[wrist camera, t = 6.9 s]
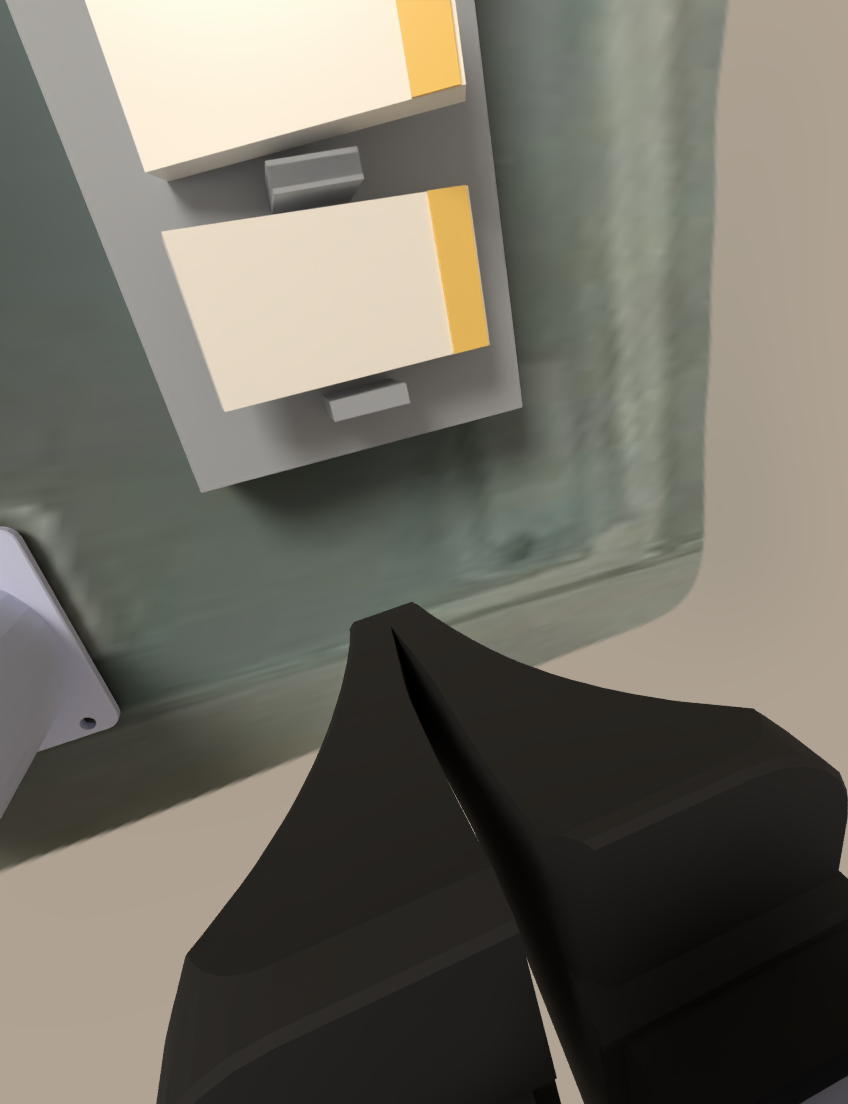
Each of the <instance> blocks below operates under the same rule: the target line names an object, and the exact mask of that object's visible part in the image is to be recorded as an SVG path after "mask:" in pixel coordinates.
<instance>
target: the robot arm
mask: <svg viewBox="0 0 848 1104" xmlns="http://www.w3.org/2000/svg"><path fill="white" fill-rule="evenodd" d="M119 716H120V709H119V707H118V705H117V703H116V701H115V700H114V698H113V696H112V694H111V693H110V691H109V689H108V687H107V686H106V684H105V682H104V680H103V679H102V677H101V675H100V673H99V672H98V670H97V668H96V666H95V664H94V663H93V661H92V659H91V657H90V656H89V654H88V652H87V650H86V649H85V647H84V645H83V643H82V642H81V640H80V638H79V636H78V635H77V633H76V631H75V629H74V628H73V626H72V624H71V622H70V621H69V619H68V617H67V615H66V614H65V612H64V610H63V608H62V607H61V605H60V603H59V601H58V599H57V598H56V596H55V594H54V592H53V591H52V589H51V587H50V585H49V584H48V582H47V580H46V578H45V577H44V575H43V573H42V571H41V570H40V568H39V566H38V564H37V563H36V561H35V559H34V557H33V556H32V554H31V552H30V550H29V549H28V547H27V545H26V543H25V541H24V540H23V538H22V536H21V535H20V534H19V533H18V532H17V531H15V530H13V529H12V528H9V527H4V526H2V527H0V819H1V817H2V816H3V814H4V812H5V810H6V808H7V806H8V805H9V803H10V801H11V799H12V797H13V796H14V794H15V792H16V790H17V788H18V786H19V785H20V783H21V781H22V779H23V777H24V775H25V774H26V772H27V770H28V768H29V766H30V764H31V763H32V761H33V759H34V757H35V755H36V754H37V752H39V751H42V750H45V749H48V748H51V747H54V746H57V745H60V744H63V743H66V742H69V741H72V740H75V739H78V738H81V737H84V736H87V735H90V734H93V733H96V732H99V731H102V730H105V729H108V728H111V727H112V726H114V725H115V724H116V723H117V722H118V719H119ZM88 717H89V718H93V719H94V720H95V721H96V722H91V723H90V722H86V721H85V720H84V719H83V718H88ZM450 786H451V787H450ZM451 788H452V789H451ZM452 790H453V791H454V793H455V795H456V797H457V799H458V801H459V803H460V805H461V807H462V808H461V807H460V805H459V803H458V801H457V799H456V797H455V795H454V793H453V791H452ZM462 809H463V810H464V812H463V810H462ZM847 810H848V797H847V789H846V787H845V785H844V782H843V780H842V777H841V775H840V773H839V772H838V771H837V770H836V769H835V768H833V767H832V766H831V765H830V764H828V763H827V762H826V761H825V760H823V759H822V758H821V757H820V756H818V755H817V754H816V753H814V752H813V751H812V750H811V749H809V748H808V747H807V746H805V745H804V744H803V743H801V742H800V741H799V740H798V739H796V738H795V737H794V736H792V735H791V734H790V733H789V732H787V731H786V730H784V729H783V728H781V727H780V726H778V725H777V724H775V723H774V722H772V721H771V720H770V719H768V718H767V717H765V716H764V715H762V714H761V713H759V712H757V711H756V710H754V709H752V708H742V707H731V706H720V705H710V704H700V703H690V702H680V701H672V700H666V699H660V698H654V697H647V696H641V695H635V694H630V693H625V692H620V691H615V690H610V689H605V688H601V687H597V686H594V685H590V684H586V683H582V682H578V681H574V680H570V679H567V678H564V677H560V676H557V675H554V674H550V673H548V672H545V671H542V670H539V669H537V668H534V667H531V666H528V665H525V664H523V663H520V662H517V661H515V660H513V659H510V658H508V657H506V656H504V655H501V654H499V653H497V652H495V651H493V650H491V649H489V648H487V647H485V646H483V645H481V644H479V643H477V642H476V641H474V640H472V639H470V638H468V637H467V636H465V635H463V634H461V633H460V632H458V631H456V630H455V629H453V628H451V627H450V626H448V625H446V624H445V623H443V622H442V621H440V620H439V619H437V618H436V617H434V616H433V615H431V614H430V613H428V612H427V611H425V610H424V609H423V608H421V607H420V606H419V605H417V604H415V603H413V602H410V603H407V604H404V605H402V606H399V607H396V608H393V609H390V610H387V611H384V612H382V613H379V614H376V615H373V616H370V617H367V618H364V619H362V620H359V621H356V622H354V623H353V624H352V626H351V628H350V646H349V653H348V660H347V665H346V669H345V674H344V678H343V683H342V687H341V691H340V694H339V697H338V701H337V704H336V707H335V710H334V713H333V717H332V720H331V723H330V725H329V728H328V731H327V733H326V736H325V739H324V741H323V743H322V746H321V748H320V750H319V753H318V755H317V757H316V760H315V762H314V764H313V766H312V768H311V771H310V772H309V774H308V776H307V778H306V780H305V782H304V784H303V786H302V788H301V790H300V792H299V794H298V796H297V798H296V800H295V802H294V804H293V805H292V807H291V809H290V811H289V812H288V814H287V816H286V817H285V819H284V821H283V822H282V824H281V826H280V827H279V829H278V830H277V832H276V834H275V835H274V837H273V838H272V840H271V841H270V843H269V844H268V846H267V848H266V849H265V851H264V852H263V854H262V855H261V857H260V859H259V860H258V862H257V863H256V865H255V866H254V868H253V869H252V871H251V872H250V873H249V875H248V876H247V877H246V879H245V880H244V882H243V883H242V884H241V886H240V887H239V889H238V890H237V891H236V892H235V893H234V895H233V896H232V897H231V899H230V900H229V901H228V902H227V904H226V905H225V906H224V908H223V909H222V910H221V912H220V913H219V914H218V916H217V917H216V918H215V920H214V921H213V922H212V923H211V925H210V926H209V927H208V928H207V930H206V931H205V932H204V933H203V935H202V936H201V937H200V939H199V940H198V941H197V942H196V943H195V945H194V946H193V947H192V948H191V949H190V951H189V952H188V953H187V955H186V957H185V961H184V965H183V969H182V973H181V977H180V982H179V985H178V990H177V994H176V998H175V1001H174V1005H173V1009H172V1013H171V1018H170V1022H169V1026H168V1031H167V1035H166V1040H165V1046H164V1053H163V1060H162V1068H161V1074H160V1082H159V1089H158V1096H157V1104H561V1102H560V1098H559V1094H558V1090H557V1086H556V1082H555V1079H556V1078H557V1077H556V1073H555V1069H554V1065H553V1061H552V1057H551V1053H550V1049H549V1046H548V1041H547V1037H546V1033H545V1030H544V1026H543V1022H542V1018H541V1014H540V1010H539V1006H538V1002H537V998H536V994H535V990H534V986H533V982H532V979H531V974H530V970H529V966H528V962H529V965H530V968H531V970H532V973H533V975H534V978H535V980H536V983H537V985H538V987H539V990H540V993H541V995H542V998H543V1000H544V1002H545V1005H546V1007H547V1010H548V1013H549V1015H550V1018H551V1020H552V1023H553V1025H554V1028H555V1030H556V1033H557V1035H558V1038H559V1040H560V1043H561V1046H562V1048H563V1051H564V1053H565V1056H566V1058H567V1061H568V1063H569V1066H570V1068H571V1071H572V1074H573V1076H574V1079H575V1081H576V1084H577V1086H578V1089H579V1091H580V1094H581V1097H582V1099H583V1102H584V1104H848V878H846V877H845V876H844V875H843V874H842V873H841V872H840V871H839V864H840V858H841V852H842V847H843V841H844V835H845V828H846V823H847V815H848V813H847V812H848V811H847ZM464 813H465V814H466V816H467V818H468V820H469V822H470V824H471V826H472V828H473V830H474V832H475V834H476V836H475V834H474V832H473V830H472V828H471V826H470V824H469V822H468V820H467V818H466V816H465V814H464ZM476 837H477V838H476ZM527 960H528V962H527Z"/></svg>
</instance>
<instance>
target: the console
mask: <svg viewBox="0 0 848 1104" xmlns="http://www.w3.org/2000/svg"><path fill="white" fill-rule="evenodd" d="M6 3H7V5H8V8H9V10H10V13H11V15H12V18H13V20H14V23H15V25H16V28H17V30H18V33H19V35H20V38H21V40H22V43H23V45H24V48H25V50H26V53H27V55H28V58H29V61H30V63H31V66H32V68H33V71H34V73H35V76H36V78H37V81H38V83H39V86H40V88H41V91H42V93H43V96H44V98H45V101H46V103H47V106H48V108H49V111H50V113H51V116H52V118H53V121H54V123H55V126H56V128H57V131H58V134H59V136H60V139H61V141H62V144H63V146H64V149H65V151H66V154H67V156H68V159H69V161H70V164H71V166H72V169H73V171H74V174H75V176H76V179H77V181H78V184H79V186H80V189H81V191H82V194H83V196H84V199H85V201H86V204H87V207H88V209H89V212H90V214H91V217H92V219H93V222H94V224H95V227H96V229H97V232H98V234H99V237H100V239H101V242H102V244H103V247H104V249H105V252H106V254H107V257H108V259H109V262H110V264H111V267H112V269H113V272H114V274H115V277H116V280H117V282H118V285H119V287H120V290H121V292H122V295H123V297H124V300H125V302H126V305H127V307H128V310H129V312H130V315H131V317H132V320H133V322H134V325H135V327H136V330H137V332H138V335H139V337H140V340H141V342H142V345H143V347H144V350H145V353H146V355H147V358H148V360H149V363H150V365H151V368H152V370H153V373H154V375H155V378H156V380H157V383H158V385H159V388H160V390H161V393H162V395H163V398H164V400H165V403H166V405H167V408H168V410H169V413H170V415H171V418H172V420H173V423H174V426H175V428H176V431H177V433H178V436H179V438H180V441H181V443H182V446H183V448H184V451H185V453H186V456H187V458H188V461H189V463H190V466H191V468H192V471H193V473H194V476H195V478H196V481H197V483H198V486H199V488H200V491H201V493H203V492H206V491H210V490H214V489H218V488H221V487H225V486H229V485H233V484H236V483H240V482H244V481H248V480H251V479H255V478H259V477H263V476H267V475H270V474H274V473H278V472H282V471H285V470H289V469H293V468H297V467H300V466H304V465H308V464H312V463H315V462H319V461H323V460H327V459H330V458H334V457H338V456H342V455H346V454H349V453H353V452H357V451H361V450H364V449H368V448H372V447H376V446H379V445H383V444H387V443H391V442H394V441H398V440H402V439H406V438H410V437H413V436H417V435H421V434H425V433H428V432H432V431H436V430H440V429H443V428H447V427H451V426H455V425H458V424H462V423H466V422H470V421H473V420H477V419H481V418H485V417H489V416H492V415H496V414H500V413H504V412H507V411H511V410H515V409H519V408H522V407H523V406H522V398H521V389H520V381H519V372H518V364H517V356H516V347H515V339H514V330H513V322H512V313H511V305H510V297H509V288H508V280H507V271H506V263H505V254H504V246H503V238H502V229H501V221H500V212H499V204H498V195H497V187H496V179H495V170H494V162H493V153H492V145H491V136H490V128H489V120H488V111H487V103H486V94H485V86H484V78H483V69H482V61H481V52H480V44H479V35H478V27H477V19H476V10H475V2H474V0H455V3H456V11H457V19H458V26H459V34H460V42H461V49H462V57H463V65H464V72H465V80H466V95H465V101H464V102H460V103H457V104H453V105H449V106H446V107H442V108H438V109H435V110H431V111H427V112H423V113H420V114H416V115H412V116H409V117H405V118H401V119H398V120H394V121H390V122H387V123H383V124H379V125H375V126H372V127H368V128H364V129H361V130H357V131H353V132H350V133H346V134H342V135H339V136H335V137H331V138H328V139H324V140H320V141H316V142H313V143H309V144H305V145H302V146H298V147H294V148H291V149H287V150H283V151H280V152H276V153H272V154H268V155H265V156H261V157H257V158H254V159H250V160H246V161H243V162H239V163H235V164H232V165H228V166H224V167H220V168H217V169H213V170H209V171H206V172H202V173H198V174H195V175H191V176H187V177H184V178H180V179H176V180H172V181H165V180H162V179H160V178H157V177H155V176H152V175H150V174H148V173H145V171H144V168H143V165H142V162H141V159H140V157H139V154H138V151H137V148H136V145H135V142H134V139H133V137H132V134H131V131H130V128H129V125H128V122H127V119H126V117H125V114H124V111H123V108H122V105H121V102H120V99H119V97H118V94H117V91H116V88H115V85H114V82H113V79H112V77H111V74H110V71H109V68H108V65H107V62H106V59H105V57H104V54H103V51H102V48H101V45H100V42H99V40H98V37H97V34H96V31H95V28H94V25H93V22H92V20H91V17H90V14H89V11H88V8H87V5H86V2H85V0H6ZM461 185H466V186H467V185H468V189H469V197H470V204H471V211H472V218H473V226H474V233H475V240H476V247H477V255H478V262H479V269H480V277H481V284H482V291H483V298H484V306H485V313H486V320H487V327H488V335H489V342H490V345H488V346H484V347H480V348H476V349H472V350H468V351H464V352H460V353H456V354H451V355H447V356H443V357H439V358H435V359H432V360H428V361H424V362H420V363H416V364H412V365H408V366H404V367H400V368H396V369H392V370H388V371H384V372H381V373H377V374H373V375H369V376H365V377H361V378H357V379H353V380H349V381H345V382H341V383H337V384H334V385H330V386H326V387H322V388H318V389H314V390H310V391H306V392H302V393H298V394H294V395H290V396H286V397H283V398H279V399H275V400H271V401H267V402H263V403H259V404H255V405H251V406H247V407H243V408H239V409H236V410H232V411H228V412H224V410H223V409H222V407H221V404H220V401H219V399H218V396H217V393H216V390H215V387H214V384H213V382H212V379H211V376H210V373H209V370H208V368H207V365H206V362H205V359H204V356H203V353H202V351H201V348H200V345H199V342H198V339H197V337H196V334H195V331H194V328H193V325H192V322H191V320H190V317H189V314H188V311H187V308H186V306H185V303H184V300H183V297H182V294H181V291H180V289H179V286H178V283H177V280H176V277H175V275H174V272H173V269H172V266H171V263H170V260H169V258H168V255H167V252H166V249H165V246H164V243H163V240H162V233H161V232H162V231H168V230H175V229H182V228H188V227H195V226H201V225H208V224H215V223H221V222H228V221H235V220H241V219H248V218H255V217H261V216H268V215H274V214H281V213H288V212H294V211H301V210H308V209H314V208H321V207H328V206H334V205H341V204H347V203H354V202H361V201H367V200H374V199H381V198H387V197H394V196H401V195H407V194H414V193H420V192H427V191H428V190H435V189H441V188H448V187H455V186H461Z"/></svg>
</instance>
